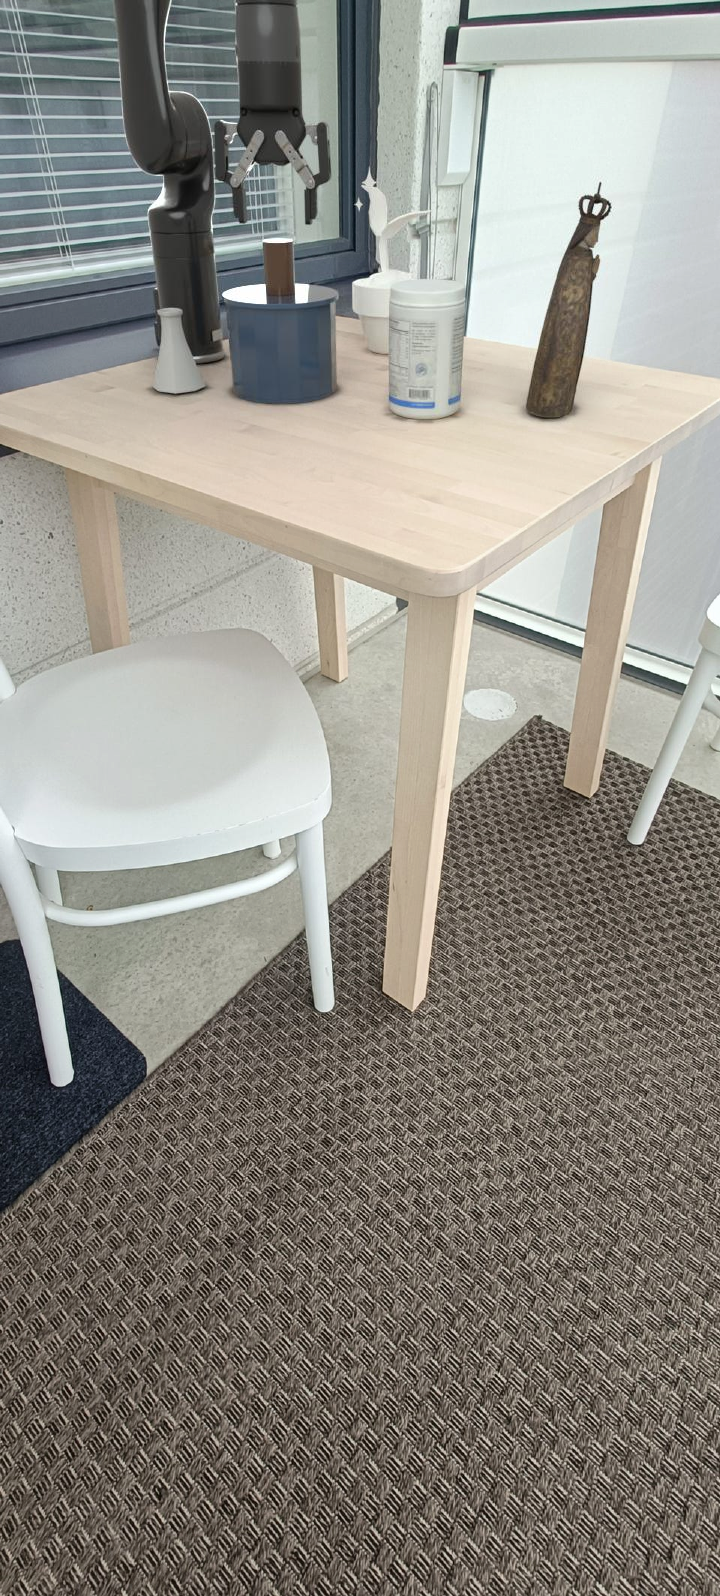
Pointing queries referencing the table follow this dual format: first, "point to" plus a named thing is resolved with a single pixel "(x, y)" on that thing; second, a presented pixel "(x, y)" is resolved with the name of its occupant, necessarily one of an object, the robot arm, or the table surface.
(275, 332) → the canister
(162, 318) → the flask
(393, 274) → the potted plant
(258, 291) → the lid
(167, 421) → the table surface
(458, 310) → the supplement tub
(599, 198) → the statue
